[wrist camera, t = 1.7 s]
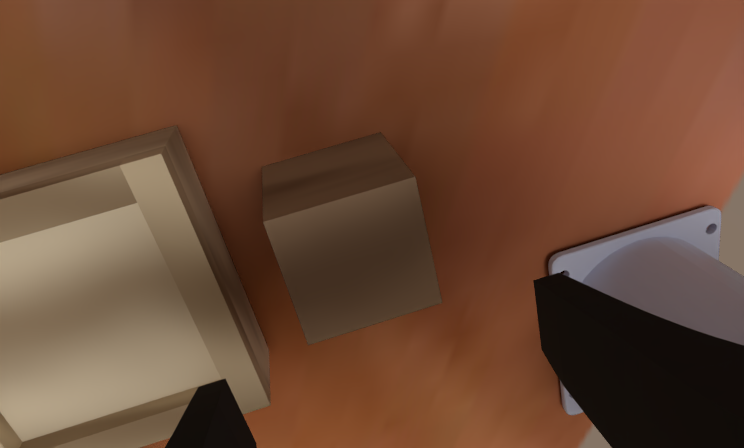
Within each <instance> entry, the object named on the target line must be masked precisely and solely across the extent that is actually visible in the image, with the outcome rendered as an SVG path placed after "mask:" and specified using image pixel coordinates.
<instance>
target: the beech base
mask: <svg viewBox="0 0 744 448" xmlns="http://www.w3.org/2000/svg"><path fill="white" fill-rule="evenodd" d="M225 378H226V381H227V383H228V385H229V387H230V389H231V391H232V393H233V395H234V397H235V400H236V402H237V404H238V406H239V408H240V410H241V412H242V414H245V413H248V412H251V411H255V410H258V409H261V408H264V407H267V406H270V405H271V402H270V368H269V349H268V346H267V344H266V342H265V339H264V337H263V334H262V332H261V329H260V327H259V325H258V322H257V320H256V317H255V315H254V312H253V310H252V308H251V305H250V303H249V300H248V298H247V295H246V293H245V291H244V288H243V286H242V283H241V281H240V278H239V276H238V274H237V271H236V269H235V266H234V264H233V261H232V259H231V257H230V254H229V252H228V249H227V247H226V244H225V242H224V240H223V237H222V235H221V232H220V230H219V227H218V225H217V222H216V220H215V218H214V215H213V213H212V210H211V208H210V205H209V203H208V201H207V198H206V196H205V193H204V191H203V188H202V186H201V184H200V181H199V179H198V176H197V174H196V171H195V169H194V167H193V164H192V162H191V159H190V157H189V154H188V152H187V150H186V147H185V145H184V142H183V140H182V137H181V135H180V133H179V130H178V128H177V125H176V126H172V127H169V128H165V129H162V130H158V131H155V132H151V133H148V134H144V135H140V136H137V137H133V138H130V139H126V140H123V141H119V142H116V143H112V144H108V145H105V146H101V147H98V148H94V149H91V150H87V151H84V152H80V153H76V154H73V155H69V156H66V157H62V158H59V159H55V160H52V161H48V162H45V163H41V164H37V165H34V166H30V167H27V168H23V169H20V170H16V171H13V172H9V173H5V174H2V175H0V448H140V447H143V446H146V445H149V444H152V443H155V442H158V441H161V440H165V439H168V438H171V436H172V434H173V432H174V430H175V429H176V427H177V425H178V423H179V421H180V419H181V417H182V416H183V414H184V412H185V410H186V408H187V406H188V405H189V403H190V401H191V399H192V397H193V396H194V394H195V392H196V390H197V389H198V387H200V386H203V385H206V384H209V383H213V382H216V381H219V380H222V379H225Z"/></svg>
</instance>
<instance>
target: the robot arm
mask: <svg viewBox="0 0 744 448" xmlns="http://www.w3.org/2000/svg"><path fill="white" fill-rule="evenodd" d="M709 225H710V226H709ZM708 226H709V227H708ZM707 227H708V229H706V228H707ZM720 230H721V211H720V210H719V209H717V208H715V207H713V206H705V207H702V208H699V209H695V210H692V211H689V212H686V213H683V214H679V215H676V216H673V217H670V218H667V219H663V220H660V221H657V222H654V223H651V224H648V225H644V226H641V227H638V228H635V229H632V230H628V231H625V232H622V233H619V234H616V235H612V236H609V237H606V238H603V239H600V240H597V241H593V242H590V243H587V244H584V245H581V246H577V247H574V248H571V249H568V250H565V251H562V252H558V253H556V254H554V255H553V256H552V257H551V258H550V260H549V263H548V268H549V276H546V277H543V278H540V279H537V280H534V288H535V296H536V305H537V313H538V322H539V330H540V339H541V347H542V351H543V352H544V354H545V356H546V358H547V359H548V361H549V363H550V364H551V366H552V368H553V370H554V371H555V373H556V374H557V376H558V378H559V379H560V386H561V395H562V405H563V409H564V410H565V411H566V413H567V414H569V415H576V414H579V413H582V412H584V413H585V414H586V415H587V417H588V418H589V419H590V420H591V422H592V423H593V424H594V425H595V427H596V428H597V429H598V430H599V432H600V433H601V434H602V435H603V437H604V438H605V439H606V441H607V442H608V443H609V444H610V446H611V447H612V448H744V276H742V275H741V274H739V273H738V272H736V271H734V270H733V269H731V268H729V267H728V266H726V265H724V264H723V263H721V262H720V261H719V246H720ZM564 270H565V272H564V273H563V274H561V273H560V272H562V271H564ZM165 448H257V447H256V442H255V440H254V438H253V436H252V433H251V431H250V429H249V427H248V425H247V423H246V421H245V419H244V417H243V414H242V412H241V410H240V408H239V406H238V404H237V402H236V400H235V397H234V395H233V393H232V391H231V389H230V387H229V385H228V383H227V381H226V378H225V379H222V380H219V381H216V382H213V383H209V384H206V385H203V386H200V387H198V389H197V390H196V392H195V394H194V396H193V397H192V399H191V401H190V403H189V405H188V406H187V408H186V410H185V412H184V414H183V416H182V417H181V419H180V421H179V423H178V425H177V427H176V429H175V430H174V432H173V434H172V436H171V438H170V440H169V441H168V443H167V445H166V447H165Z"/></svg>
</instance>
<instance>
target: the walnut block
mask: <svg viewBox="0 0 744 448" xmlns="http://www.w3.org/2000/svg"><path fill="white" fill-rule="evenodd" d="M262 199H263V224H264V226H265V229H266V232H267V234H268V237H269V240H270V243H271V245H272V248H273V251H274V253H275V256H276V259H277V262H278V264H279V267H280V270H281V273H282V275H283V278H284V281H285V283H286V286H287V289H288V292H289V294H290V297H291V300H292V302H293V305H294V308H295V311H296V313H297V316H298V319H299V321H300V324H301V327H302V330H303V332H304V335H305V338H306V340H307V343H308V345H310V344H314V343H317V342H320V341H323V340H326V339H329V338H333V337H336V336H339V335H342V334H345V333H348V332H352V331H355V330H358V329H361V328H364V327H367V326H371V325H374V324H377V323H380V322H383V321H386V320H390V319H393V318H396V317H399V316H402V315H405V314H409V313H412V312H415V311H418V310H421V309H424V308H428V307H431V306H434V305H437V304H440V303H442V298H441V294H440V289H439V284H438V280H437V275H436V270H435V266H434V261H433V257H432V252H431V247H430V243H429V238H428V233H427V229H426V224H425V219H424V215H423V210H422V205H421V201H420V196H419V191H418V187H417V182H416V177H415V176H414V174H413V173H412V172H411V171H410V169H409V168H408V167H407V165H406V164H405V163H404V162H403V160H402V159H401V158H400V157H399V155H398V154H397V153H396V151H395V150H394V149H393V148H392V146H391V145H390V144H389V142H388V141H387V140H386V139H385V137H384V136H383V135H382V134H381V132H380V133H376V134H373V135H369V136H366V137H363V138H359V139H356V140H352V141H349V142H345V143H342V144H338V145H335V146H332V147H328V148H325V149H321V150H318V151H314V152H311V153H308V154H304V155H301V156H297V157H294V158H290V159H287V160H283V161H280V162H277V163H273V164H270V165H266V166H263V167H262Z"/></svg>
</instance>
